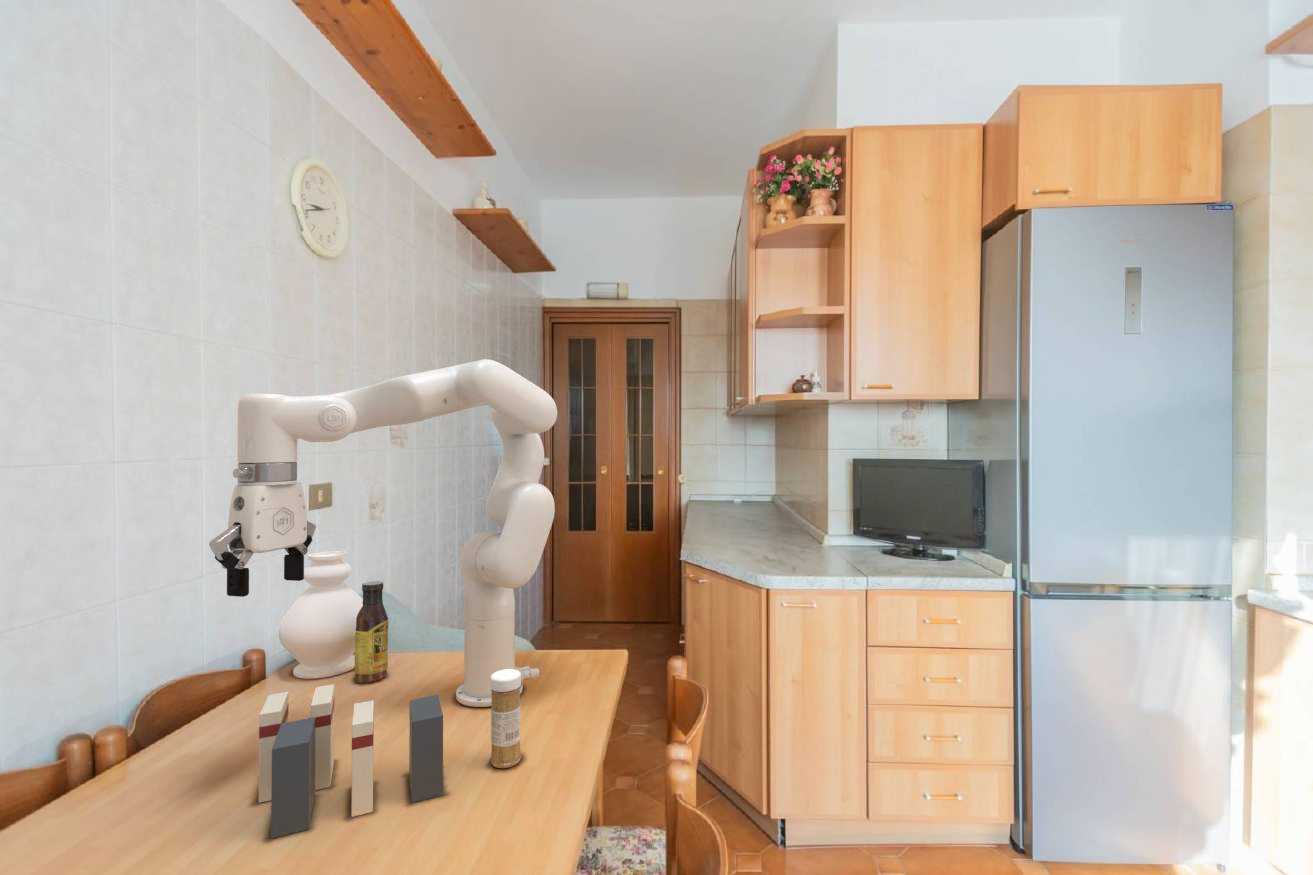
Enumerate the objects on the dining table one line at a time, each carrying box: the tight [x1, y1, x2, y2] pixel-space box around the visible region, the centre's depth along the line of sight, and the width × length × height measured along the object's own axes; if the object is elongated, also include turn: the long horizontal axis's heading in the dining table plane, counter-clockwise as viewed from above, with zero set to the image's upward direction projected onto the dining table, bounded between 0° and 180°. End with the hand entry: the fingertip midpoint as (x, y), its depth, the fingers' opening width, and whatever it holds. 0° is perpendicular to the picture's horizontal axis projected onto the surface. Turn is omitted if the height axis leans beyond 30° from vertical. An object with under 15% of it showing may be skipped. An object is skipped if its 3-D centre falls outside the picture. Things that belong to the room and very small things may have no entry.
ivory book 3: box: [350, 699, 375, 818], centre depth 78 cm, size 2×7×12 cm, turn 26°
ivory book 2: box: [310, 683, 336, 791], centre depth 84 cm, size 2×7×12 cm, turn 26°
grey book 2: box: [408, 694, 444, 804], centre depth 82 cm, size 4×8×11 cm, turn 26°
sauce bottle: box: [354, 580, 389, 684], centre depth 120 cm, size 7×6×20 cm
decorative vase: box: [278, 550, 363, 680], centre depth 126 cm, size 18×18×25 cm
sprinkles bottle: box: [490, 669, 522, 769], centre depth 87 cm, size 5×5×14 cm
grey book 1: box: [270, 717, 316, 840], centre depth 75 cm, size 4×8×11 cm, turn 26°
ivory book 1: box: [258, 691, 289, 804], centre depth 81 cm, size 2×7×12 cm, turn 26°
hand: (267, 587), depth 86 cm, fingers open, 9 cm apart
